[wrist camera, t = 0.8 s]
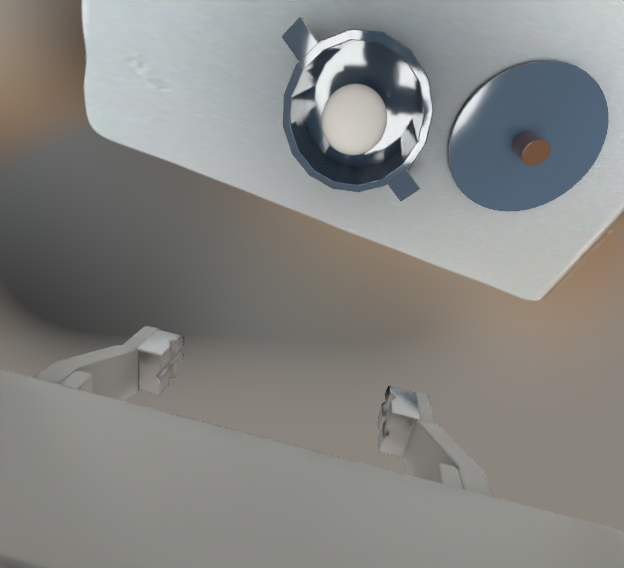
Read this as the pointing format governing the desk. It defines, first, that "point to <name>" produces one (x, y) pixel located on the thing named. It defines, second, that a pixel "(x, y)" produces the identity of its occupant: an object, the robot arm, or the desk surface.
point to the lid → (528, 135)
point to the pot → (368, 71)
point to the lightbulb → (354, 119)
